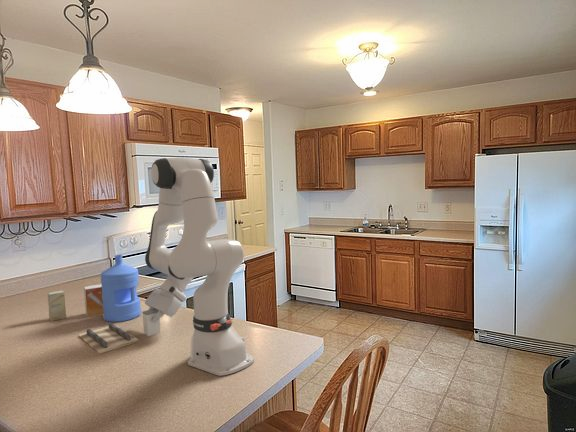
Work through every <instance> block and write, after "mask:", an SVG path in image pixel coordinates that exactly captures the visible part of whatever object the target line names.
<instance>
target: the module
mask: <svg viewBox="0 0 576 432" xmlns="http://www.w3.org/2000/svg"><path fill="white" fill-rule="evenodd" d="M158 311H159V310H157V309H155V308H154V309H150V310H148V309H147V310H143V311H141V314H142V324H143V326H142V327H143V334H144V336H145V335H146V336H147V337H150V336H154V335H157V334H160V333H161V322H160V321H161V318H160V319H158V320H157V322H156V323H154V322H152V321H151V319H152V317H154V316H155V315H157V314H158V313H157V312H158Z"/></svg>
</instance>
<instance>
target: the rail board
mask: <svg viewBox="0 0 576 432" xmlns="http://www.w3.org/2000/svg"><path fill="white" fill-rule="evenodd" d="M78 337H79V338H81V339H82V340H83V341H84V342H85V343H86V344H88V345H89V346H90V347H91V348H93V349H94V351H96V352H97V353H98V354H102V353H106V352H109V351H113V350H116V349H119V348H122V347H125V346H128V345H131V344H134V343H139V342H140V339H138V338H137V337H135V336H134V335H132V334H130V333H129V332H128V331H126V330H124V329H123V328H121V327H120V326H118V325H117V324H114V323H113V322H109V323H108V326H105V327H102V328H98V329H94V330H91V329H90V328H86V332H83V333H79V334H78Z"/></svg>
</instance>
